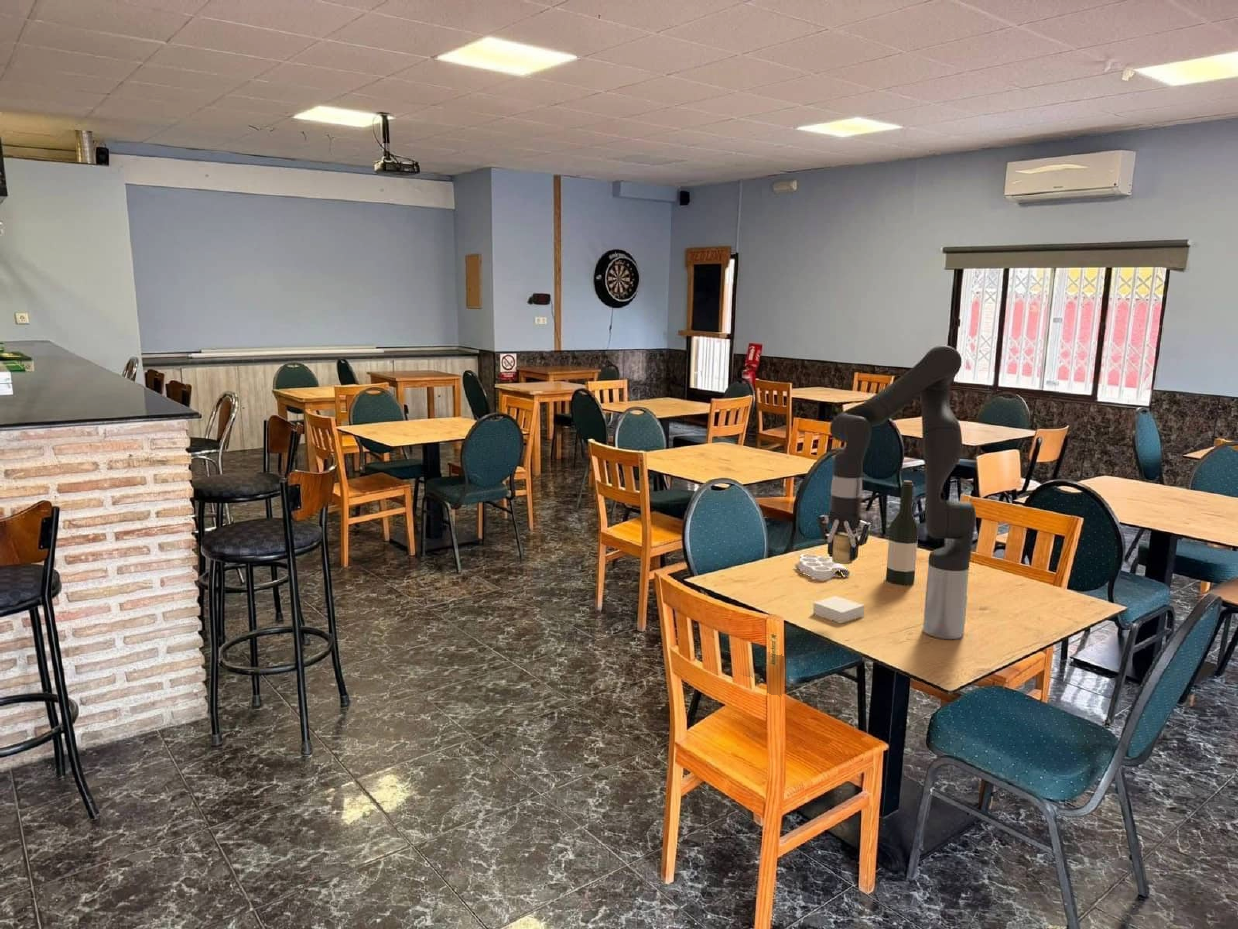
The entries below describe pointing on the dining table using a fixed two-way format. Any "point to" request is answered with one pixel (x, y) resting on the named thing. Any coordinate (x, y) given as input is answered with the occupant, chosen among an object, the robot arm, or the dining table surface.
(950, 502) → the robot arm
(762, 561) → the dining table surface
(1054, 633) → the dining table surface
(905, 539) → the wine bottle
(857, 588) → the dining table surface
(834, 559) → the ochre cylinder
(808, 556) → the white holed flat part
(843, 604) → the white base
